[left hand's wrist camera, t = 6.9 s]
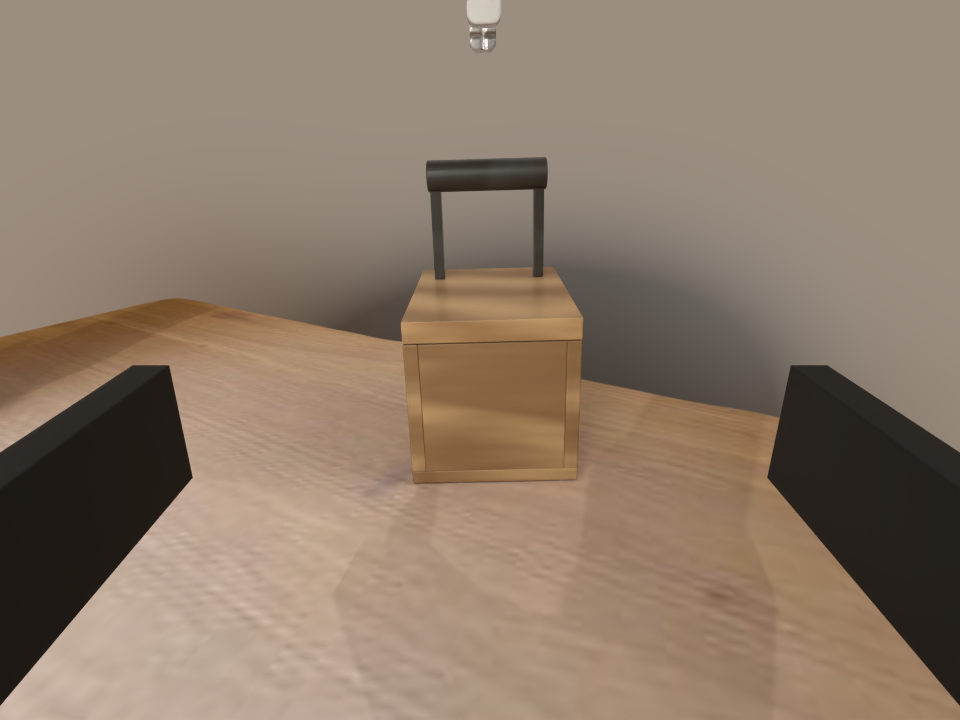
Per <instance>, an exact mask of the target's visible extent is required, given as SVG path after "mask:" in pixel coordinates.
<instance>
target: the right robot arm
mask: <svg viewBox="0 0 960 720" xmlns="http://www.w3.org/2000/svg"><path fill="white" fill-rule="evenodd" d="M467 16H468V21H469V24H470V47H471V50H472V51H473V52H475V53H490V52H492V51H493V50H494V49H495V47H496V26H497V24H498V23H499V21H500V16H501V0H467Z"/></svg>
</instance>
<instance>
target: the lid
mask: <svg viewBox="0 0 960 720" xmlns="http://www.w3.org/2000/svg"><path fill="white" fill-rule="evenodd" d="M547 177H548V167H547V159H546V158H545V157H536V158H502V159H466V160H432V161H427V163H426V179H427V188H428V191H429V192H430V195H431V213H432V231H433V249H434V267H435V270H424V272H423V274H422V276H421V278H420V280H419V283H418V285H417V287H416V290H415V292H414V294H413V297H412V299H411V301H410V303H409V305H408V308H407V310H406V312H405V315H404V317H403V319H402V322H401V332H402V343H403V344H429V343H468V342H507V341H546V340H582V337H583V317H582V315H581V314H580V312H579V310H578V308H577V307H576V305H575V303H574V302H573V300H572V298H571V297H570V295H569V293H568V292H567V290H566V288H565V286H564V285H563V283H562V281H561V280H560V278H559V276H558V274H557V273H556V271H555V269H554V268H553V267H543V239H544V238H543V237H544V189H546V187H547ZM527 189H533V267H532V268H496V269H459V270H445V258H444V238H443V218H442V197H441V192H456V191H492V190H527Z"/></svg>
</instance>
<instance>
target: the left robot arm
mask: <svg viewBox="0 0 960 720" xmlns="http://www.w3.org/2000/svg"><path fill="white" fill-rule="evenodd" d="M192 478H193V477H192V472H191V468H190V463H189V458H188V453H187V449H186V444H185V439H184V434H183V430H182V425H181V420H180V415H179V411H178V406H177V401H176V396H175V392H174V387H173V382H172V377H171V373H170V368H169V365H133V366H131V367H130V368H128V369H127V370H125V371H124V372H122V373H120V374H119V375H117V376H116V377H114V378H113V379H111V380H110V381H108V382H107V383H105V384H104V385H102V386H101V387H99V388H98V389H96V390H95V391H93V392H92V393H90V394H89V395H87V396H86V397H84V398H82V399H81V400H79V401H78V402H76V403H75V404H73V405H72V406H70V407H69V408H67V409H66V410H64V411H63V412H61V413H60V414H58V415H57V416H55V417H54V418H52V419H51V420H49V421H47V422H46V423H44V424H43V425H41V426H40V427H38V428H37V429H35V430H34V431H32V432H31V433H29V434H28V435H26V436H25V437H23V438H22V439H20V440H19V441H17V442H16V443H14V444H13V445H11V446H9V447H8V448H6V449H5V450H3V451H2V452H0V705H1V704H2V703H3V702H4V701H5V699H6V698H7V697H8V696H9V695H10V693H11V692H12V691H13V690H14V689H15V687H16V686H17V685H18V684H19V683H20V682H21V680H22V679H23V678H24V677H25V676H26V674H27V673H28V672H29V671H30V670H31V669H32V667H33V666H34V665H35V664H36V663H37V661H38V660H39V659H40V658H41V657H42V655H43V654H44V653H45V652H46V651H47V650H48V648H49V647H50V646H51V645H52V644H53V642H54V641H55V640H56V639H57V638H58V637H59V635H60V634H61V633H62V632H63V631H64V629H65V628H66V627H67V626H68V625H69V623H70V622H71V621H72V620H73V619H74V618H75V616H76V615H77V614H78V613H79V612H80V610H81V609H82V608H83V607H84V606H85V605H86V603H87V602H88V601H89V600H90V599H91V597H92V596H93V595H94V594H95V593H96V592H97V590H98V589H99V588H100V587H101V586H102V584H103V583H104V582H105V581H106V580H107V578H108V577H109V576H110V575H111V574H112V573H113V571H114V570H115V569H116V568H117V567H118V565H119V564H120V563H121V562H122V561H123V560H124V558H125V557H126V556H127V555H128V554H129V552H130V551H131V550H132V549H133V548H134V546H135V545H136V544H137V543H138V542H139V541H140V539H141V538H142V537H143V536H144V535H145V533H146V532H147V531H148V530H149V529H150V528H151V526H152V525H153V524H154V523H155V522H156V520H157V519H158V518H159V517H160V516H161V514H162V513H163V512H164V511H165V510H166V509H167V507H168V506H169V505H170V504H171V503H172V501H173V500H174V499H175V498H176V497H177V496H178V494H179V493H180V492H181V491H182V490H183V488H184V487H185V486H186V485H187V484H188V482H189V481H190V480H191V479H192ZM767 478H768V479H769V480H770V481H771V482H772V484H773V485H774V486H775V487H776V488H777V490H778V491H779V492H780V493H781V494H782V496H783V497H784V498H785V499H786V500H787V501H788V503H789V504H790V505H791V506H792V507H793V509H794V510H795V511H796V512H797V513H798V514H799V516H800V517H801V518H802V519H803V520H804V522H805V523H806V524H807V525H808V526H809V528H810V529H811V530H812V531H813V532H814V533H815V535H816V536H817V537H818V538H819V539H820V541H821V542H822V543H823V544H824V545H825V546H826V548H827V549H828V550H829V551H830V552H831V554H832V555H833V556H834V557H835V558H836V560H837V561H838V562H839V563H840V564H841V565H842V567H843V568H844V569H845V570H846V571H847V573H848V574H849V575H850V576H851V577H852V578H853V580H854V581H855V582H856V583H857V584H858V586H859V587H860V588H861V589H862V590H863V592H864V593H865V594H866V595H867V596H868V597H869V599H870V600H871V601H872V602H873V603H874V605H875V606H876V607H877V608H878V609H879V610H880V612H881V613H882V614H883V615H884V616H885V618H886V619H887V620H888V621H889V622H890V624H891V625H892V626H893V627H894V628H895V629H896V631H897V632H898V633H899V634H900V635H901V637H902V638H903V639H904V640H905V641H906V642H907V644H908V645H909V646H910V647H911V648H912V650H913V651H914V652H915V653H916V654H917V655H918V657H919V658H920V659H921V660H922V661H923V663H924V664H925V665H926V666H927V667H928V669H929V670H930V671H931V672H932V673H933V674H934V676H935V677H936V678H937V679H938V680H939V682H940V683H941V684H942V685H943V686H944V687H945V689H946V690H947V691H948V692H949V693H950V695H951V696H952V697H953V698H954V699H955V701H956V702H957V703H958V704H959V705H960V452H958V451H957V450H955V449H954V448H952V447H950V446H949V445H947V444H946V443H944V442H943V441H941V440H940V439H938V438H937V437H935V436H934V435H932V434H931V433H929V432H928V431H926V430H925V429H923V428H922V427H920V426H919V425H917V424H916V423H914V422H912V421H911V420H909V419H908V418H906V417H905V416H903V415H902V414H900V413H899V412H897V411H896V410H894V409H893V408H891V407H890V406H888V405H887V404H885V403H884V402H882V401H881V400H879V399H878V398H876V397H874V396H873V395H871V394H870V393H868V392H867V391H865V390H864V389H862V388H861V387H859V386H858V385H856V384H855V383H853V382H852V381H850V380H849V379H847V378H846V377H844V376H843V375H841V374H839V373H838V372H836V371H835V370H833V369H832V368H830V367H829V366H827V365H791V368H790V372H789V378H788V382H787V387H786V392H785V396H784V401H783V406H782V411H781V415H780V420H779V425H778V429H777V434H776V439H775V444H774V448H773V453H772V458H771V463H770V467H769V472H768V477H767Z"/></svg>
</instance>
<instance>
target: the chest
mask: <svg viewBox="0 0 960 720" xmlns="http://www.w3.org/2000/svg"><path fill="white" fill-rule="evenodd" d="M403 357H404V369H405V382H406V394H407V407H408V420H409V432H410V445H411V458H412V470H413V482H414V483H444V482H487V481H530V480H573V479H577V466H578V441H579V414H580V388H581V361H582V340H546V341H507V342H468V343H429V344H403Z"/></svg>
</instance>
